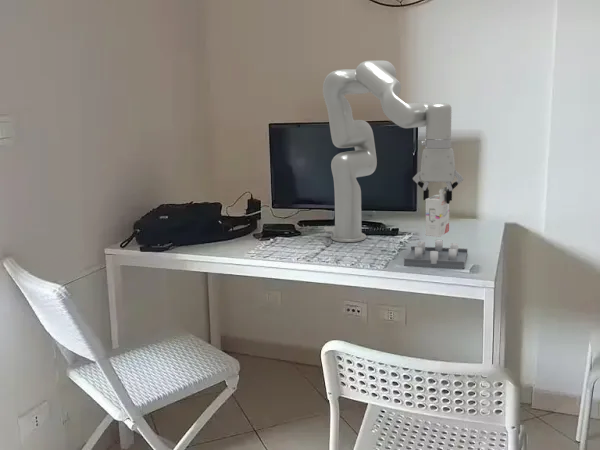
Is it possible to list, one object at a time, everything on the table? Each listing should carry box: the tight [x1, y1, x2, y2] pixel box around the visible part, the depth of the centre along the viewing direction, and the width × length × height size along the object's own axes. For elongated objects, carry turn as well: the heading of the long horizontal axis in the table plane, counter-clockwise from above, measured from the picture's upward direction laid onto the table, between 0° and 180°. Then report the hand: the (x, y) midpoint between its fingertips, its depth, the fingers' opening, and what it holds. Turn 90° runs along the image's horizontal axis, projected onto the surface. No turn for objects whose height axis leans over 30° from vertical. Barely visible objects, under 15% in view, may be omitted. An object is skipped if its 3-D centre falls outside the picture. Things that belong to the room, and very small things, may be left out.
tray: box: [403, 239, 468, 269], centre depth 209 cm, size 18×17×5 cm
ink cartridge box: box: [424, 186, 450, 238], centre depth 206 cm, size 9×5×15 cm, turn 148°
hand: (437, 202), depth 205 cm, fingers closed on ink cartridge box, 5 cm apart
